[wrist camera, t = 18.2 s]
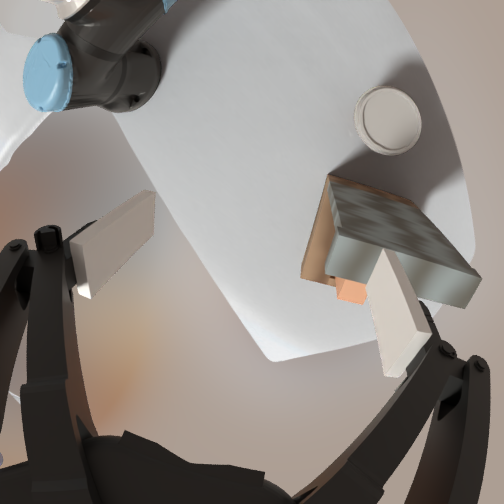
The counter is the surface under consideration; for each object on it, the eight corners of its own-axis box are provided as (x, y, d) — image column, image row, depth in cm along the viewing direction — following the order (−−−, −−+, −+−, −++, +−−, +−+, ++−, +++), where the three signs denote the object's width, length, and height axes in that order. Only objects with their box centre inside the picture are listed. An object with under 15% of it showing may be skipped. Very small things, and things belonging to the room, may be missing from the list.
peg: (333, 261, 54) (337, 298, 43) (340, 241, 51) (346, 275, 41) (354, 266, 53) (362, 304, 43) (362, 247, 51) (373, 282, 41)
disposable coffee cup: (358, 154, 44) (373, 167, 33) (334, 102, 41) (342, 98, 30) (406, 136, 40) (434, 144, 30) (384, 84, 37) (407, 76, 27)
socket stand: (299, 263, 55) (286, 369, 32) (324, 173, 46) (338, 235, 24) (379, 283, 54) (406, 388, 31) (412, 201, 45) (482, 278, 22)
